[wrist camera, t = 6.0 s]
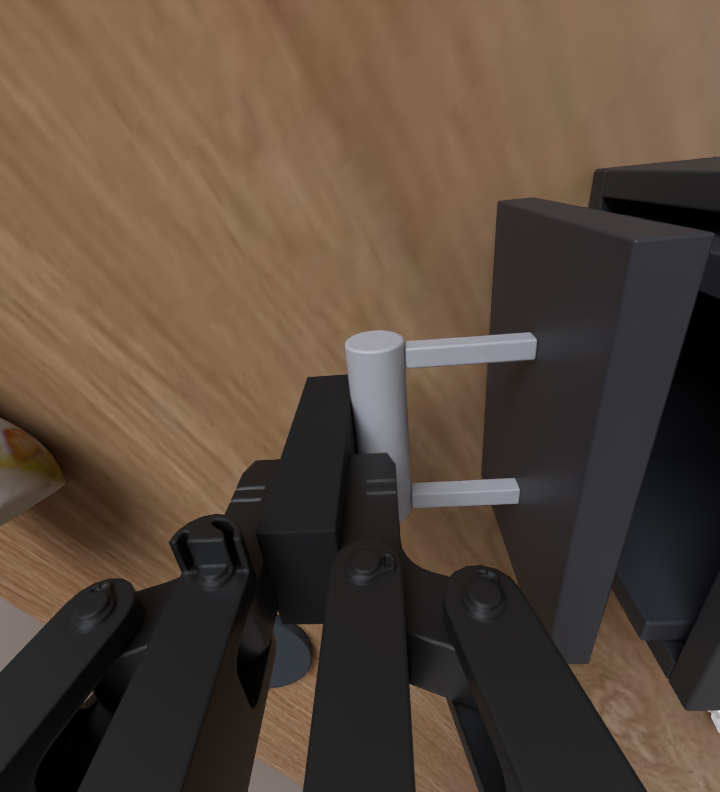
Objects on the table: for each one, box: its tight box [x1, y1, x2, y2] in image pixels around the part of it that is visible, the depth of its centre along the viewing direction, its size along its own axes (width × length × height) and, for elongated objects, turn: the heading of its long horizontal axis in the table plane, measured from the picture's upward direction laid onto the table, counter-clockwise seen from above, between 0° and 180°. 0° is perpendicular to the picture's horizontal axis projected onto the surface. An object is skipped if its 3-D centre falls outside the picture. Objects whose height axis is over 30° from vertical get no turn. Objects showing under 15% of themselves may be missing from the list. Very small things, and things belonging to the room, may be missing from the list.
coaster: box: [269, 615, 312, 689], centre depth 27 cm, size 8×8×1 cm
